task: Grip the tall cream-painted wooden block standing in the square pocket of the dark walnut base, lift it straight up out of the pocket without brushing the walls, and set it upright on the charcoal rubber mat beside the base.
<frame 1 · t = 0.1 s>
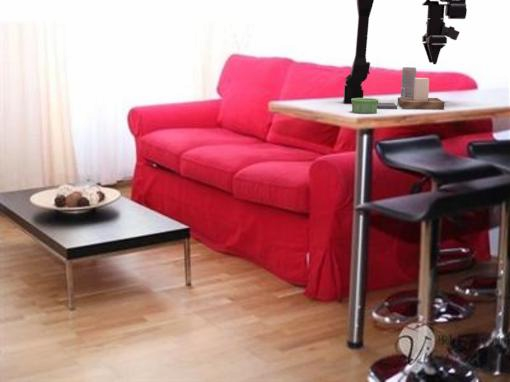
hand: (432, 63, 275), 15 cm above the table, tool pointing down, fingers open, 9 cm apart
ramekin: (364, 113, 253), on the table
pocket block: (420, 106, 269), on the table
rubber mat: (380, 107, 267), on the table
energy drink: (407, 100, 292), on the table
cream block: (420, 107, 269), resting in pocket block
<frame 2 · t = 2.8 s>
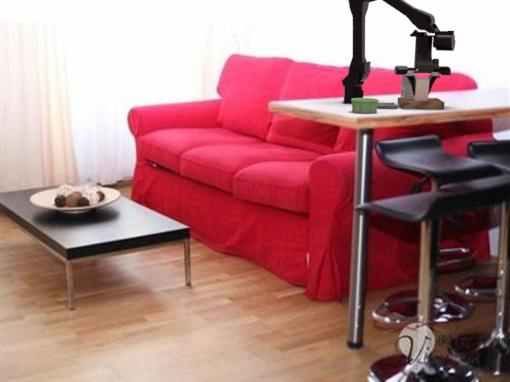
hand: (420, 95, 268), 4 cm above the table, tool pointing down, fingers closed on cream block, 4 cm apart
cream block: (420, 106, 269), resting in pocket block, touching gripper
everything else where it was.
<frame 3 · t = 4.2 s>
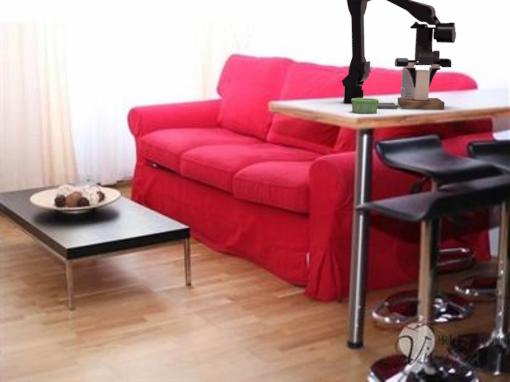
hand: (421, 87, 267), 7 cm above the table, tool pointing down, fingers closed on cream block, 4 cm apart
cream block: (420, 99, 268), point 3 cm above the table, touching gripper
everything else where it was.
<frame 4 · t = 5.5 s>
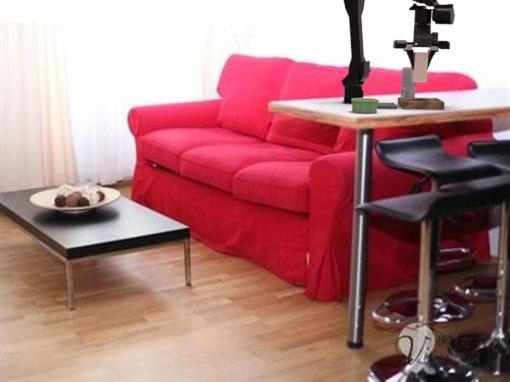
hand: (419, 70, 266), 13 cm above the table, tool pointing down, fingers closed on cream block, 4 cm apart
cream block: (419, 81, 267), point 9 cm above the table, touching gripper
everything else where it was.
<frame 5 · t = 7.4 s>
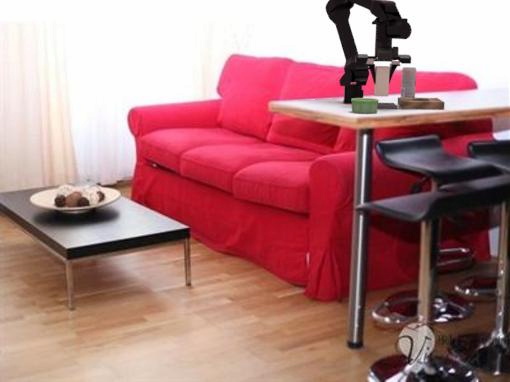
hand: (381, 84, 266), 8 cm above the table, tool pointing down, fingers closed on cream block, 4 cm apart
cream block: (381, 95, 267), point 4 cm above the table, touching gripper
everything else where it was.
when the fingers open (6 cm above the table, at t = 8.5 s): cream block stays where it is, resting on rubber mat.
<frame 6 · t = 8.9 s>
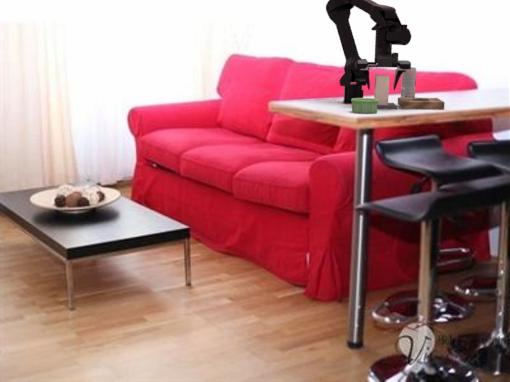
hand: (381, 89, 266), 6 cm above the table, tool pointing down, fingers open, 8 cm apart
cream block: (380, 104, 267), point 1 cm above the table, touching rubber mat
everything else where it was.
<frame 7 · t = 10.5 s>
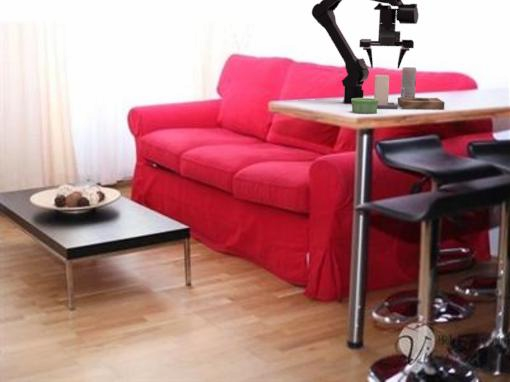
hand: (385, 68, 272), 13 cm above the table, tool pointing down, fingers open, 9 cm apart
nothing on the table moved.
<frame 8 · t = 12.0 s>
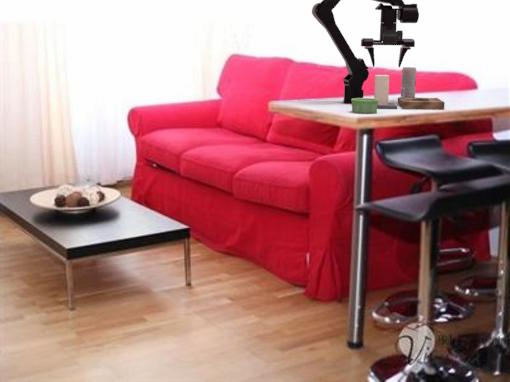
hand: (386, 66, 278), 13 cm above the table, tool pointing down, fingers open, 9 cm apart
nothing on the table moved.
at the end: cream block inside the target area on the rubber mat (0.0 cm from its centre), point 1.0 cm above the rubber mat's base; cream block tilted 0°; cream block touching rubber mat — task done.
